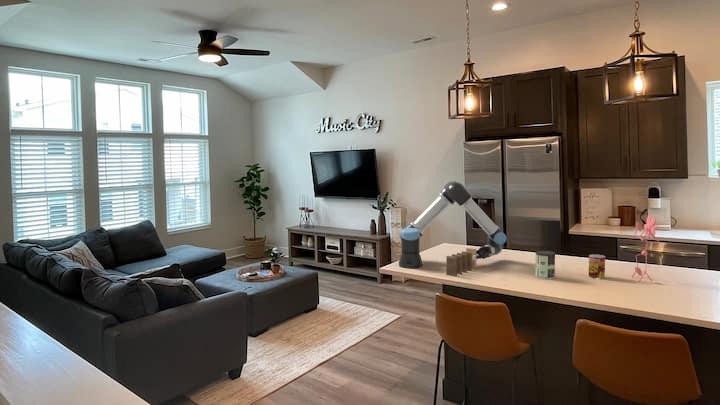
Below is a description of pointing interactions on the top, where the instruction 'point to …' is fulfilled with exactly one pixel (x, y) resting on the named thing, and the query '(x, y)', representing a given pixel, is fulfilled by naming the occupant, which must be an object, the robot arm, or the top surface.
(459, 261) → the domino
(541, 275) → the coffee can
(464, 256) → the domino
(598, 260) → the canned food
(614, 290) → the top surface
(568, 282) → the top surface
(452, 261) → the domino
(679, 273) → the top surface
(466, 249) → the domino
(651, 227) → the figurine
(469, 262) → the domino
